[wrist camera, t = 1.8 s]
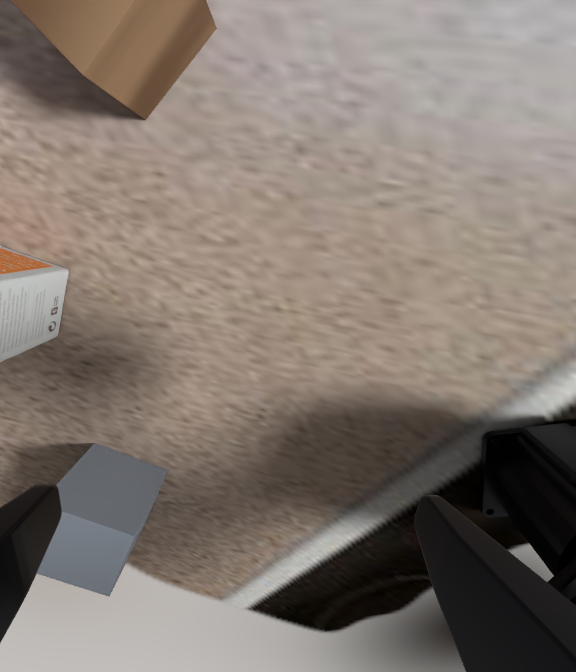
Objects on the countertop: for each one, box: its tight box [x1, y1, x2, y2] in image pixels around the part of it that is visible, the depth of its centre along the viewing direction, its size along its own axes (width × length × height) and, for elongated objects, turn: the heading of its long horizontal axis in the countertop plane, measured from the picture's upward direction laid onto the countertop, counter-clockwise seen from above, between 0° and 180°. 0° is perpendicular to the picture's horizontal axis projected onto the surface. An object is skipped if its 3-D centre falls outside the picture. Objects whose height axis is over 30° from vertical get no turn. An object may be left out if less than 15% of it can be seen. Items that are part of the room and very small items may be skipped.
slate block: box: [37, 443, 168, 596], centre depth 20 cm, size 5×5×5 cm
